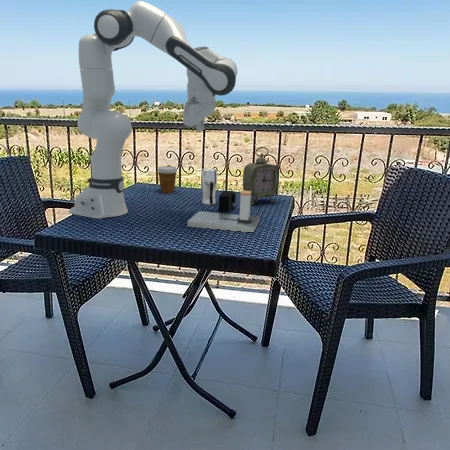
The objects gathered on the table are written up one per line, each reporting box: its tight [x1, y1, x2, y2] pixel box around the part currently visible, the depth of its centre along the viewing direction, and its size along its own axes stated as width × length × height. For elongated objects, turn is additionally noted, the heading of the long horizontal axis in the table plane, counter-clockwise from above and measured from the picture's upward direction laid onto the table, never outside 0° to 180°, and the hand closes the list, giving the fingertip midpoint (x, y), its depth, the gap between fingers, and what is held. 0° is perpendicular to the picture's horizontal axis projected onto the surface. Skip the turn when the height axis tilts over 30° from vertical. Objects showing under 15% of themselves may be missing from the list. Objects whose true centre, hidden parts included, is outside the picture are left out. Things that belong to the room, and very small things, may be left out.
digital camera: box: [218, 190, 237, 214], centre depth 163 cm, size 10×5×7 cm, turn 170°
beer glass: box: [200, 168, 218, 206], centre depth 170 cm, size 7×7×15 cm
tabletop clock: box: [242, 146, 280, 206], centre depth 173 cm, size 14×9×25 cm, turn 120°
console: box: [187, 210, 260, 233], centre depth 143 cm, size 24×14×4 cm, turn 76°
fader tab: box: [237, 190, 252, 222], centre depth 140 cm, size 5×4×10 cm
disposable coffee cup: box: [156, 165, 178, 194], centre depth 189 cm, size 10×10×12 cm
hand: (199, 130), depth 152 cm, fingers closed
